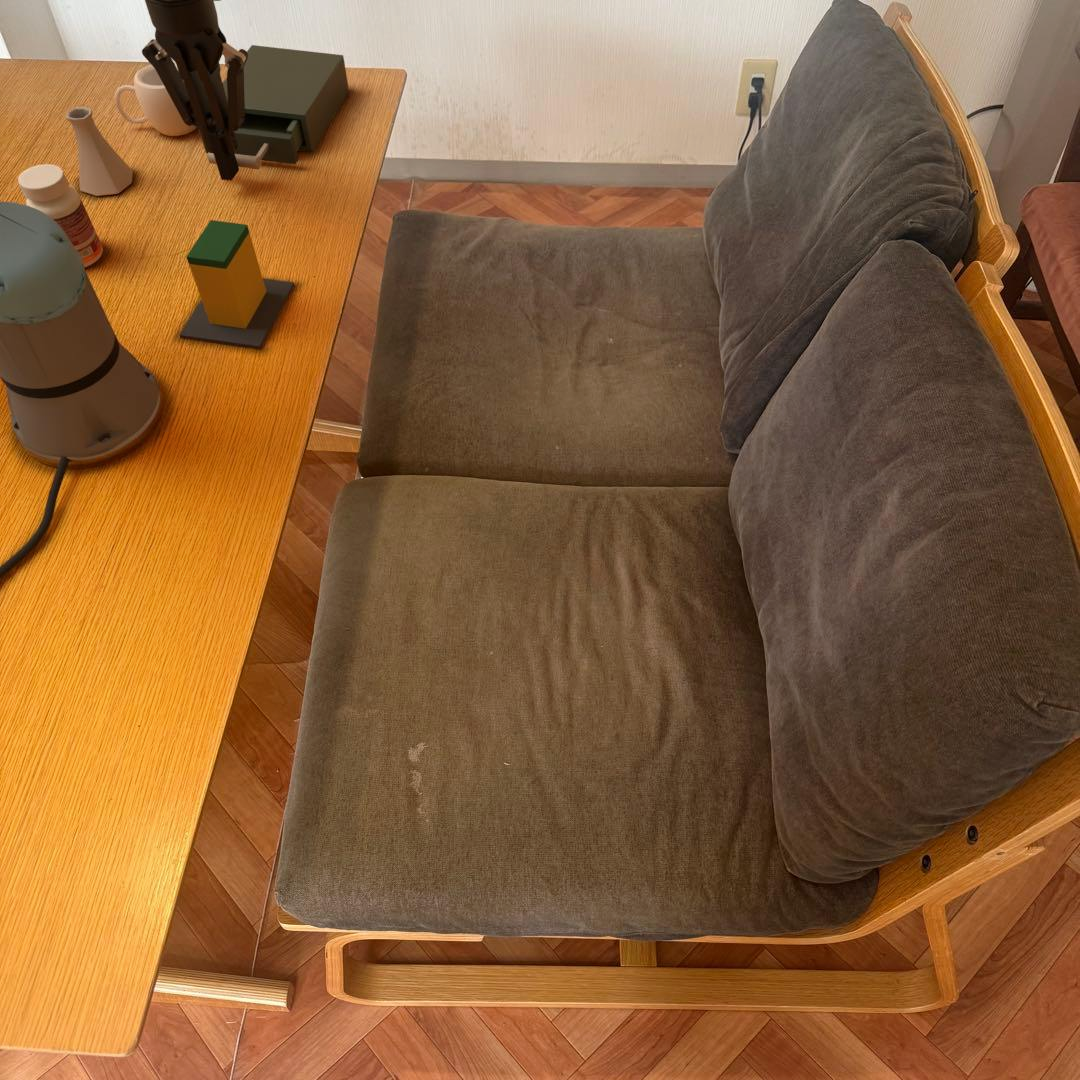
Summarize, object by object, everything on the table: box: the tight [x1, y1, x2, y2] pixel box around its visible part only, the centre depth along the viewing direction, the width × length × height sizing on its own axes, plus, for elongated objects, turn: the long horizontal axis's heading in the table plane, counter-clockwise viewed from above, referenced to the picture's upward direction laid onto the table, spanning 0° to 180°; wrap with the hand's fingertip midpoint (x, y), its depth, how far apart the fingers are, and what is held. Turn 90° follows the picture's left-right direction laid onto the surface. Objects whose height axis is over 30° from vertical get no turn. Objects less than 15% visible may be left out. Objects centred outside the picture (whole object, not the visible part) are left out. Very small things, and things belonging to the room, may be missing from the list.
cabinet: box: [222, 44, 350, 153], centre depth 133 cm, size 18×15×6 cm
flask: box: [65, 106, 134, 197], centre depth 120 cm, size 7×7×10 cm
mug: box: [114, 62, 198, 137], centre depth 130 cm, size 12×8×8 cm
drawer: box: [198, 113, 304, 170], centre depth 129 cm, size 22×13×4 cm, turn 170°
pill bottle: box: [17, 163, 104, 268], centre depth 110 cm, size 6×6×11 cm
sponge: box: [186, 219, 266, 329], centre depth 105 cm, size 7×4×10 cm, turn 170°
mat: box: [179, 277, 296, 350], centre depth 109 cm, size 12×10×1 cm
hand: (230, 174), depth 122 cm, fingers closed
